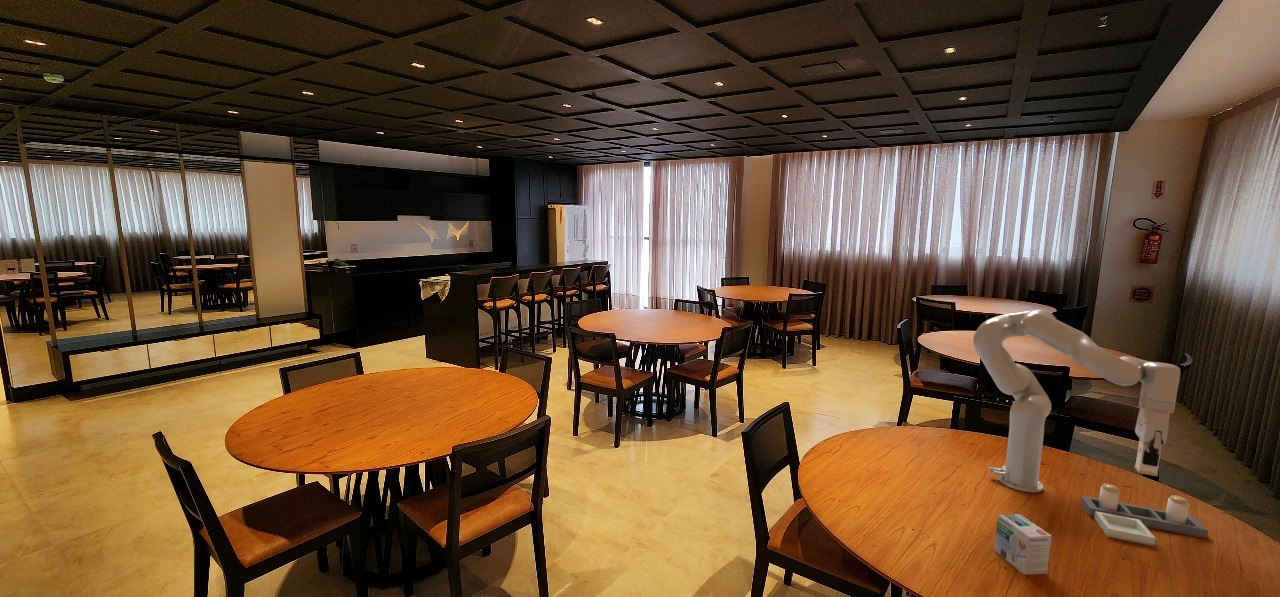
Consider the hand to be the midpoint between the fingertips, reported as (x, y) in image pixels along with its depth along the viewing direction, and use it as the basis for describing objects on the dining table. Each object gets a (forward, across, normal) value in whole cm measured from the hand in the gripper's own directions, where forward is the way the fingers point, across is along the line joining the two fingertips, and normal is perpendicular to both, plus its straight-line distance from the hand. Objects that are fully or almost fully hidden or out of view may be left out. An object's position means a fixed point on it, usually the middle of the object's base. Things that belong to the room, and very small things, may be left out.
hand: (1147, 461), depth 157 cm
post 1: (+19, 0, -7) cm, 21 cm away
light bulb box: (+19, +45, -33) cm, 59 cm away
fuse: (+3, 0, 0) cm, 3 cm away
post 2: (+19, -2, +9) cm, 21 cm away
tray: (+19, +11, -6) cm, 23 cm away
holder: (+19, -1, +1) cm, 19 cm away
